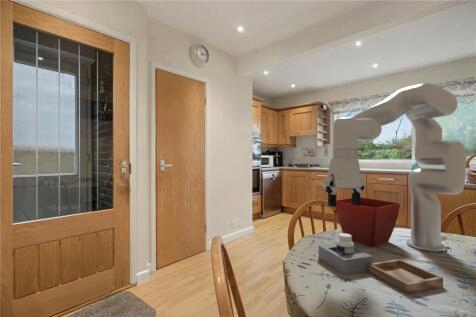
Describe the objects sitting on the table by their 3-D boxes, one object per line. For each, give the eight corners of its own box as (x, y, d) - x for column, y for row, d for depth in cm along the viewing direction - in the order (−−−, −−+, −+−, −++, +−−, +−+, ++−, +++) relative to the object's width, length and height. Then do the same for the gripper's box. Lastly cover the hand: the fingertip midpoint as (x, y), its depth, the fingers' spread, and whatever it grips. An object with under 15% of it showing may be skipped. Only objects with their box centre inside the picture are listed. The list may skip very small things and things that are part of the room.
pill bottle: (333, 260, 84) (333, 232, 84) (348, 260, 84) (348, 232, 84) (341, 267, 78) (341, 237, 78) (357, 267, 79) (357, 237, 79)
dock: (342, 254, 89) (343, 242, 89) (372, 270, 76) (372, 256, 76) (318, 258, 86) (318, 245, 86) (344, 274, 73) (344, 260, 73)
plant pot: (375, 251, 92) (375, 207, 92) (333, 237, 108) (333, 200, 108) (401, 243, 102) (401, 203, 102) (358, 231, 118) (358, 196, 118)
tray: (399, 266, 79) (399, 259, 79) (443, 286, 67) (443, 277, 67) (367, 272, 75) (367, 264, 75) (407, 294, 63) (407, 284, 63)
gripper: (357, 155, 87) (356, 202, 87) (316, 154, 82) (315, 204, 82) (374, 155, 80) (373, 206, 80) (330, 154, 75) (329, 209, 75)
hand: (344, 205), depth 81 cm, fingers open, 9 cm apart
